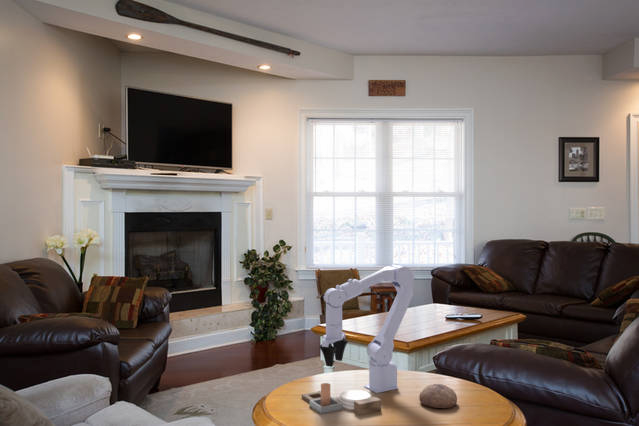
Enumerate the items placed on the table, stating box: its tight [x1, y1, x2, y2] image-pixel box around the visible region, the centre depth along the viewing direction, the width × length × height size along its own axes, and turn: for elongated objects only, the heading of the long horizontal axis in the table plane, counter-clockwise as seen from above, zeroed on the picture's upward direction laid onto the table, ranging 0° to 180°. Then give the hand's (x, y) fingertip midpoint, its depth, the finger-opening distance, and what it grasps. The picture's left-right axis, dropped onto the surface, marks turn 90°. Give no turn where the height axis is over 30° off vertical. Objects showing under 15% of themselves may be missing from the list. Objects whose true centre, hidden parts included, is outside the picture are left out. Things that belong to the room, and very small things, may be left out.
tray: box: [309, 395, 343, 415], centre depth 170 cm, size 8×8×2 cm
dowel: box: [320, 382, 331, 407], centre depth 170 cm, size 3×3×7 cm
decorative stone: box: [418, 383, 458, 409], centre depth 174 cm, size 12×12×6 cm
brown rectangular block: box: [353, 396, 382, 416], centre depth 167 cm, size 8×3×4 cm, turn 118°
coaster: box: [339, 389, 372, 411], centre depth 173 cm, size 10×10×4 cm
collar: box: [301, 390, 321, 404], centre depth 178 cm, size 7×7×1 cm
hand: (334, 363), depth 185 cm, fingers open, 7 cm apart
